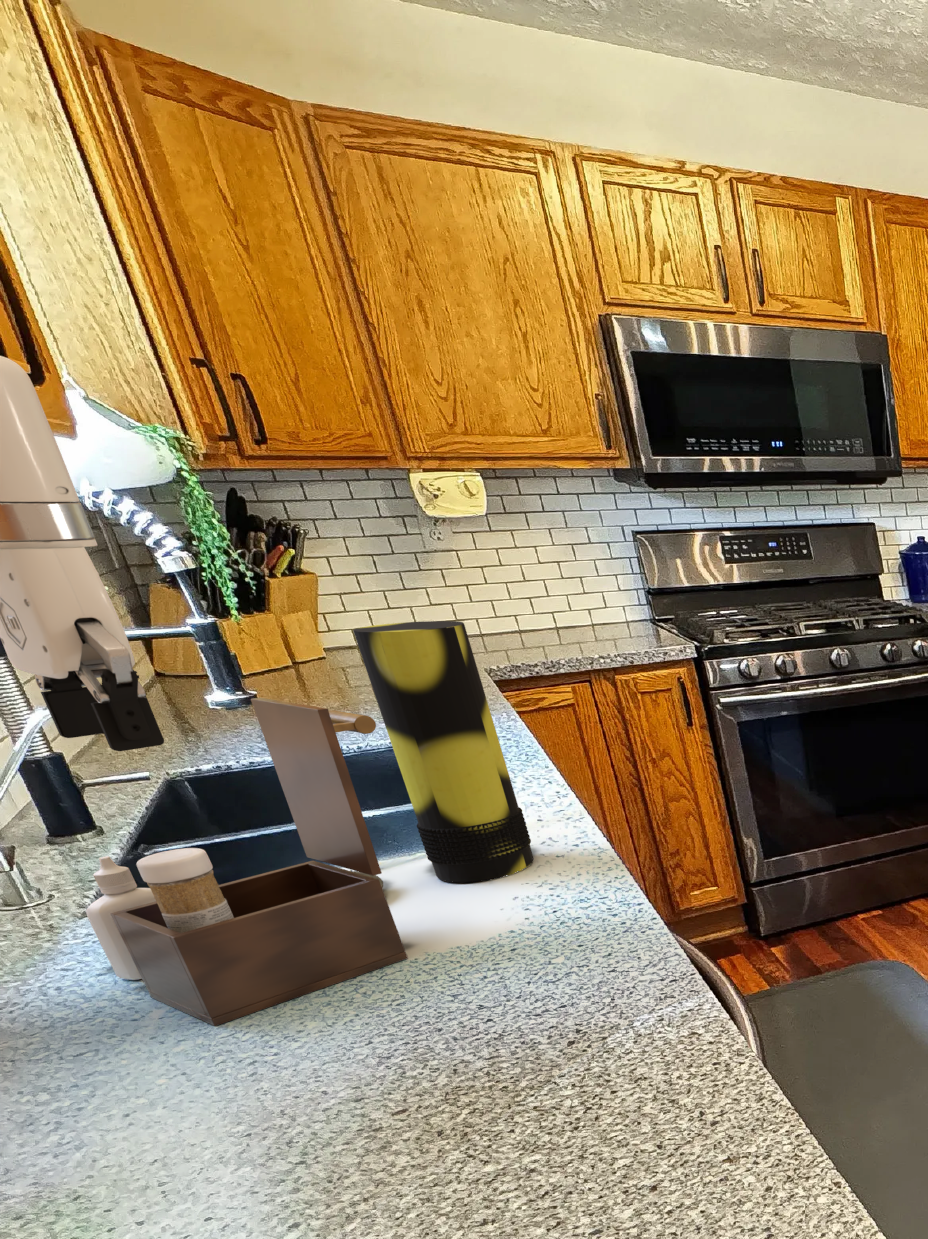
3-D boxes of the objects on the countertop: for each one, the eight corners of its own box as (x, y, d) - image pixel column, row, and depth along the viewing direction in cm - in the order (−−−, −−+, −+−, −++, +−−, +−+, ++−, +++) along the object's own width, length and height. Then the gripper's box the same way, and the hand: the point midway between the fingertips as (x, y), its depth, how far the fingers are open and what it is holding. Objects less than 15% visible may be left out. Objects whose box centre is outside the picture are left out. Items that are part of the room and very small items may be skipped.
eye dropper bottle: (116, 972, 99) (60, 860, 94) (193, 953, 103) (143, 845, 98) (120, 985, 97) (62, 870, 92) (198, 965, 100) (147, 854, 96)
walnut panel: (317, 709, 92) (386, 700, 96) (250, 698, 97) (318, 690, 101) (372, 875, 98) (435, 859, 102) (306, 857, 103) (368, 842, 108)
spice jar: (228, 976, 96) (170, 846, 91) (275, 976, 96) (218, 846, 91) (183, 998, 92) (119, 863, 87) (231, 998, 92) (170, 863, 87)
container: (515, 849, 133) (446, 618, 121) (551, 865, 127) (482, 624, 115) (420, 872, 125) (336, 627, 113) (454, 891, 119) (368, 634, 107)
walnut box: (215, 1026, 89) (173, 937, 85) (151, 998, 94) (109, 913, 91) (408, 958, 102) (379, 879, 98) (342, 936, 107) (312, 860, 103)
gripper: (-92, 525, 78) (8, 738, 85) (-5, 531, 72) (97, 763, 78) (43, 524, 85) (126, 722, 91) (135, 529, 78) (218, 744, 84)
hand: (113, 741), depth 85 cm, fingers open, 9 cm apart
